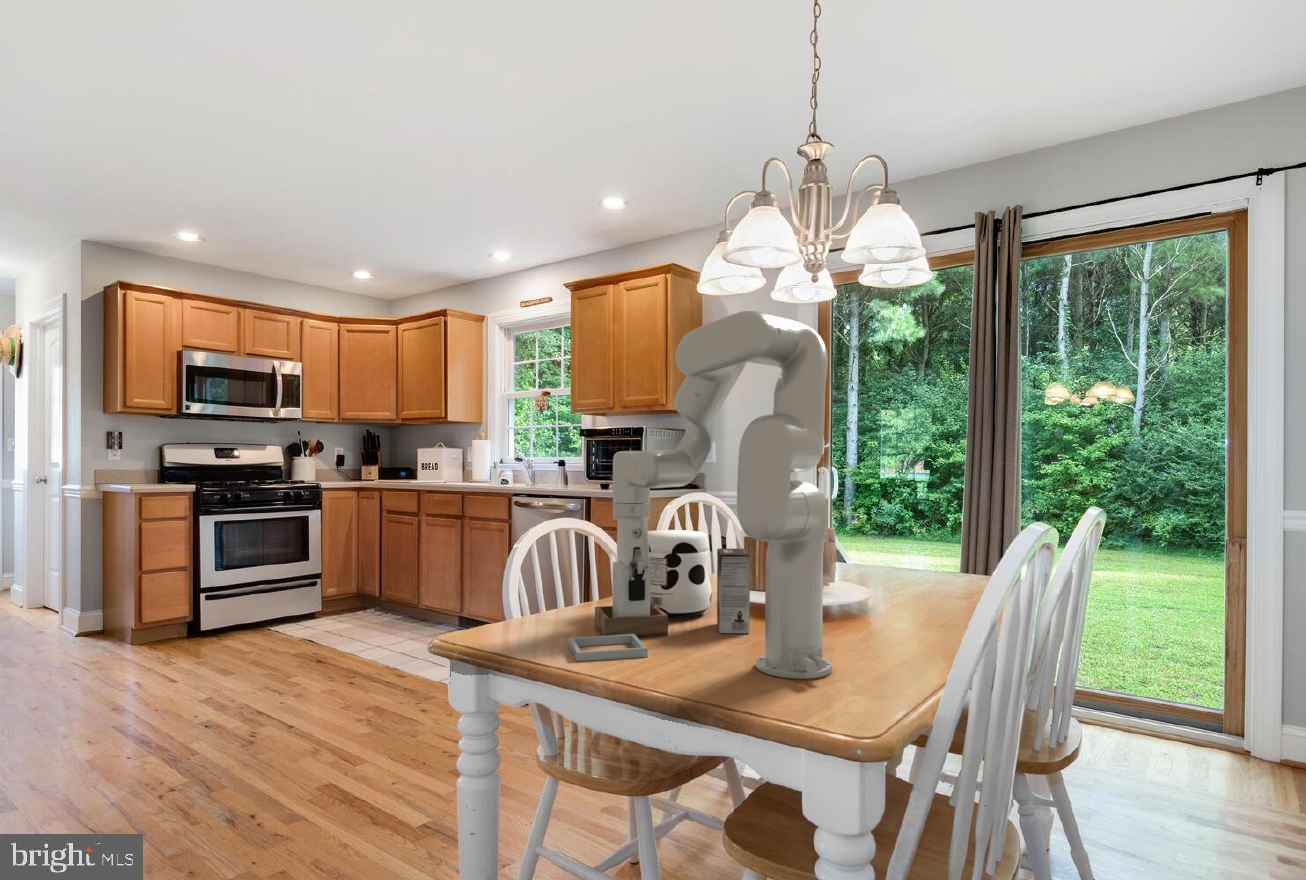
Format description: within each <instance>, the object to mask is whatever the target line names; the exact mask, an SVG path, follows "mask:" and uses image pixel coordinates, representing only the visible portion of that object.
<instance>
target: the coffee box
mask: <svg viewBox="0 0 1306 880" xmlns="http://www.w3.org/2000/svg"><path fill="white" fill-rule="evenodd" d="M716 551H717V552H716V557H717V558H716V586H717V587H716V622H717V623H716V624H717V628H718V633H719V634H720V633H744V634H743V635H746V634H745V633H751V632H750V624H751V623H750V620H751V618H750V617H751V616H750V615H751V614H750V608H751V607H750V606H751V603H750V601H751V599H750V597H751V594H750V593H751V555H750V553H749V551H748V549H747V548H717V549H716Z"/></svg>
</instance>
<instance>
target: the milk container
mask: <svg viewBox="0 0 1306 880" xmlns="http://www.w3.org/2000/svg"><path fill="white" fill-rule="evenodd" d="M648 539H649V562H650V604H654V605H655V606H657V607H658V608H659V609H660V610H662V611H663V612H664V613H665V614H667V615H668V618H685V617H691V616H692V617H693V616H696V615H700V614H703V613H705V612H706V611H707V610H709V608H710V606H711V603H712V594H713V592H712V591H713V590H712V584H711V581H710V576H709V573H708V572H709V571H708V570H709V569H708V564H709V563H708V561H709V552H708V550H709V540H708V534H707V533H706V532H703V531H697V530H686V529H684V530H683V529H658V530H648Z"/></svg>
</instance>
